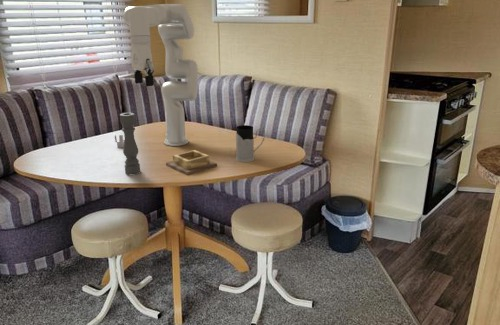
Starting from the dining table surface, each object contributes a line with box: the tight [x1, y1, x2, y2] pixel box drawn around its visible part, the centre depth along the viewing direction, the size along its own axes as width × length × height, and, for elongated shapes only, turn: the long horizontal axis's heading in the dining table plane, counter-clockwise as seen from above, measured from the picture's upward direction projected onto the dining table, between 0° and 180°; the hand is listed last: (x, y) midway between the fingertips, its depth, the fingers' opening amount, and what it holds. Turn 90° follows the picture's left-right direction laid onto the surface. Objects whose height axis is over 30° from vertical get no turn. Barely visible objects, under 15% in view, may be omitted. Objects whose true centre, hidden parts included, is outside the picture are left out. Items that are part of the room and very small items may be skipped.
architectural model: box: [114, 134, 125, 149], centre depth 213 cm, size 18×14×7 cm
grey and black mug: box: [235, 124, 266, 163], centre depth 190 cm, size 9×14×15 cm, turn 111°
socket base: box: [165, 149, 218, 176], centre depth 182 cm, size 16×16×5 cm
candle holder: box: [119, 112, 141, 175], centre depth 171 cm, size 6×6×25 cm
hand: (144, 84), depth 168 cm, fingers open, 9 cm apart
